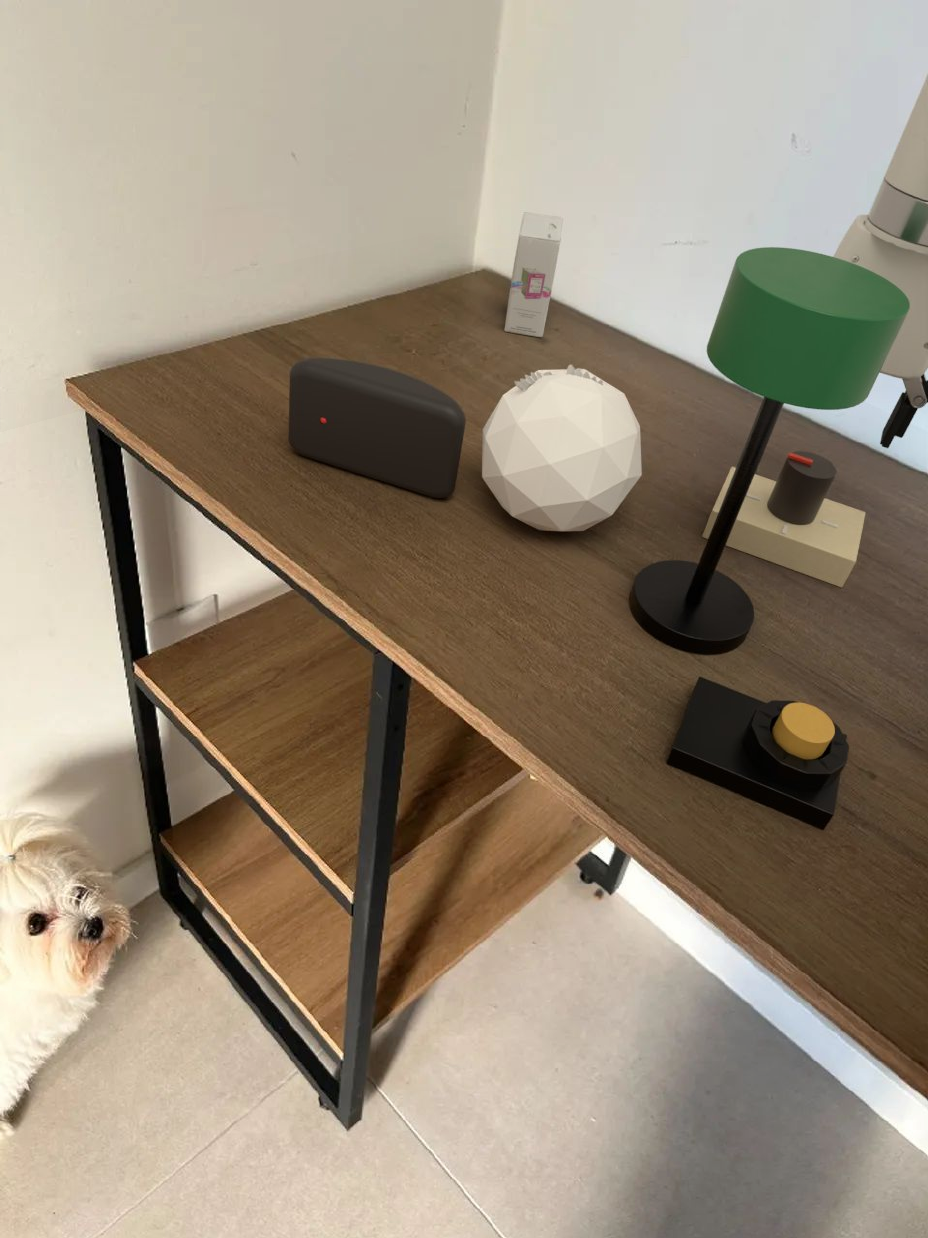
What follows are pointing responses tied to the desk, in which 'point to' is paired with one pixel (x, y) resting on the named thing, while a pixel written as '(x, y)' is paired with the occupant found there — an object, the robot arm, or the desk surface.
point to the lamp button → (803, 730)
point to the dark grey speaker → (376, 424)
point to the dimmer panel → (794, 534)
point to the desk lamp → (771, 410)
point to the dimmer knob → (801, 487)
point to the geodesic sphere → (561, 450)
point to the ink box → (533, 274)
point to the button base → (755, 754)
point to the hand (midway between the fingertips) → (828, 421)
